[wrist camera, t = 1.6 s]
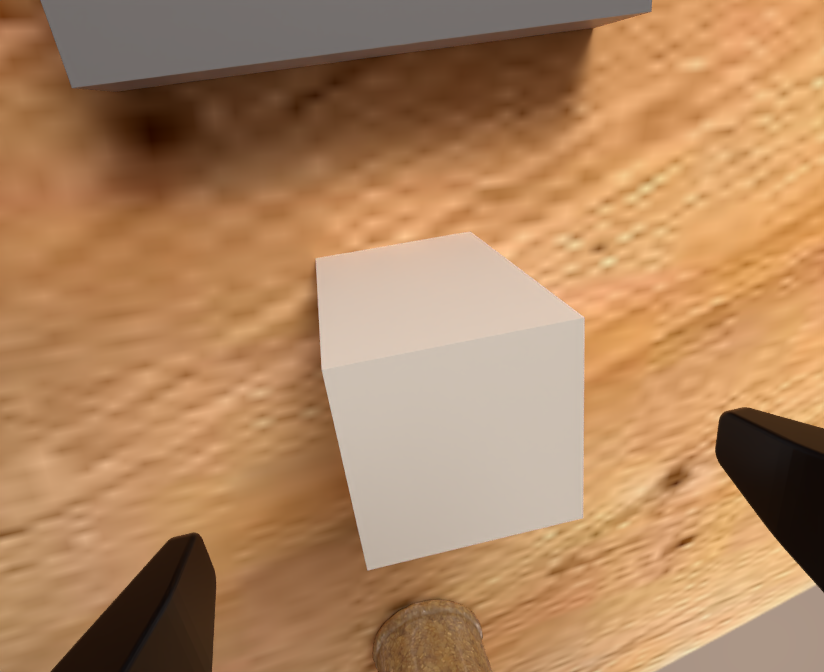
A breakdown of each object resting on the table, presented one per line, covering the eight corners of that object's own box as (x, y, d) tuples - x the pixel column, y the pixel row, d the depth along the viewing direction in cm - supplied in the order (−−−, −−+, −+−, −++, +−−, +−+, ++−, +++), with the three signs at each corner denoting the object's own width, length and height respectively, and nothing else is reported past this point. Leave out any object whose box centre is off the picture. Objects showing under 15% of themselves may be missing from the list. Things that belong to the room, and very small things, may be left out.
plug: (481, 367, 17) (582, 518, 11) (344, 395, 17) (367, 570, 10) (470, 231, 15) (584, 317, 9) (315, 258, 15) (321, 370, 8)
